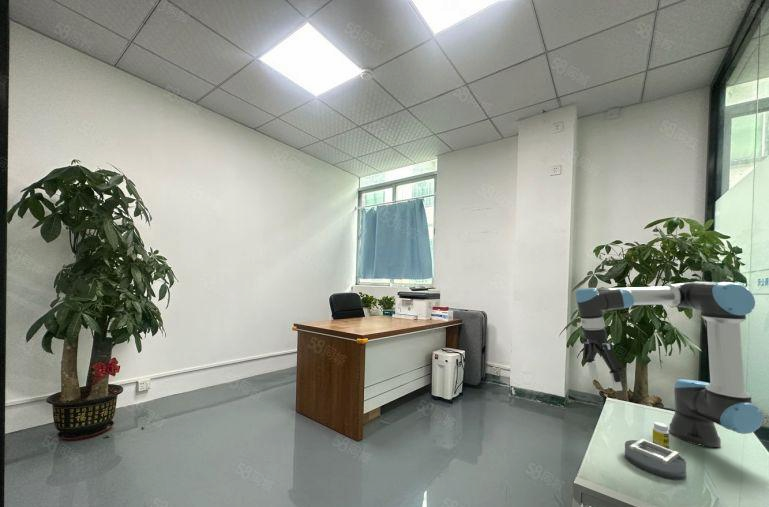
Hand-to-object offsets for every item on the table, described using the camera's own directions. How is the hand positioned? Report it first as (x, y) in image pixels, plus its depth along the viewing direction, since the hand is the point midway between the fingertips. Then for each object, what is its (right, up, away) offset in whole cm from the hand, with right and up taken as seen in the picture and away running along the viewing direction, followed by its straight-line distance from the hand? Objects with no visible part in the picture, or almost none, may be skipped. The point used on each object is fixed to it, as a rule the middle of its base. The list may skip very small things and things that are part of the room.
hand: (605, 384), depth 118 cm
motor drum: (+9, -23, -11) cm, 27 cm away
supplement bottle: (+22, -25, +2) cm, 33 cm away
